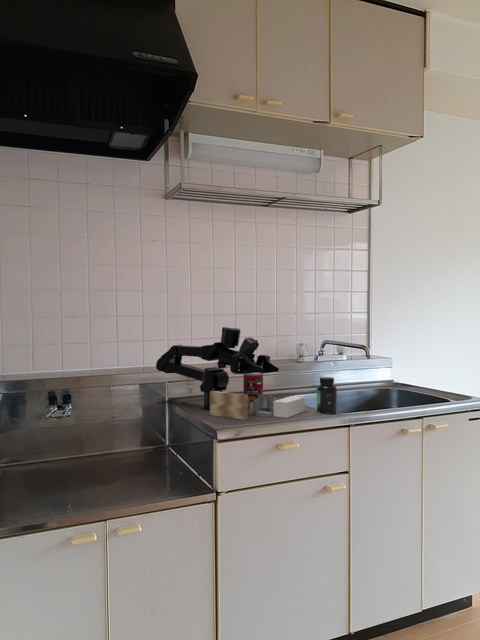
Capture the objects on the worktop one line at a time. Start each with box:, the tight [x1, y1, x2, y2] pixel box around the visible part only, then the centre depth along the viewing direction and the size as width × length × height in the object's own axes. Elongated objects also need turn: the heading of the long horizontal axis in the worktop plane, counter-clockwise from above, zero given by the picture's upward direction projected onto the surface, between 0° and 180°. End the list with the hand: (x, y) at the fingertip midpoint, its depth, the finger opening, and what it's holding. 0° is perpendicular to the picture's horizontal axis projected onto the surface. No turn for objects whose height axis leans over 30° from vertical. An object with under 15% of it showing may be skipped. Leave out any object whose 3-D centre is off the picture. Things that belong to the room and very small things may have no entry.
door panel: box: [209, 391, 249, 421], centre depth 165 cm, size 14×2×8 cm, turn 56°
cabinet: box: [248, 394, 306, 419], centre depth 172 cm, size 15×16×5 cm
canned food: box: [242, 373, 264, 403], centre depth 197 cm, size 8×8×11 cm
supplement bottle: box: [316, 376, 338, 414], centre depth 173 cm, size 7×7×12 cm
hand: (271, 370), depth 164 cm, fingers open, 9 cm apart
